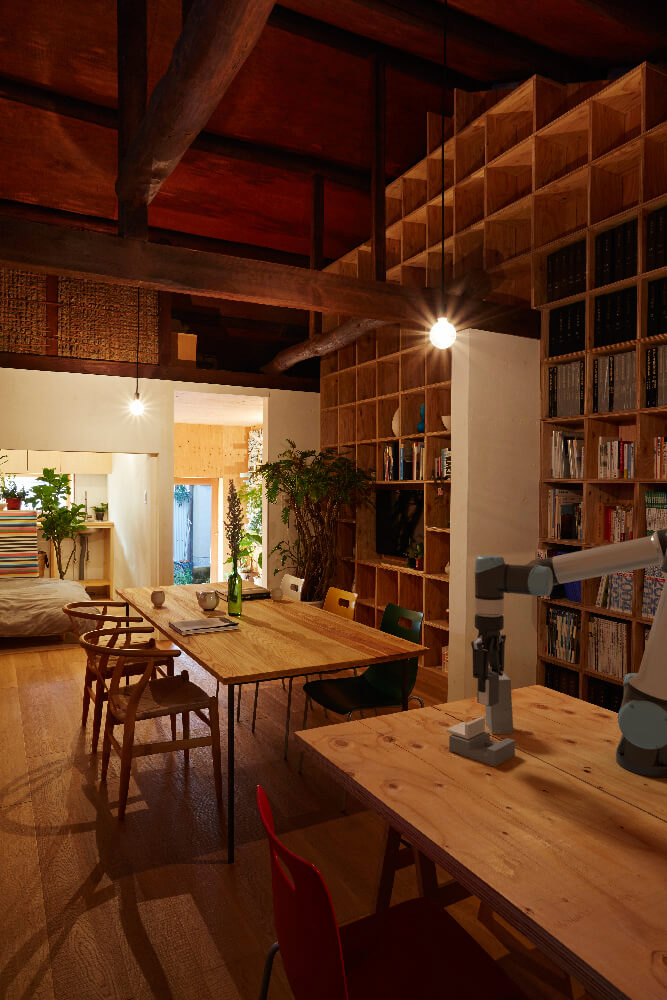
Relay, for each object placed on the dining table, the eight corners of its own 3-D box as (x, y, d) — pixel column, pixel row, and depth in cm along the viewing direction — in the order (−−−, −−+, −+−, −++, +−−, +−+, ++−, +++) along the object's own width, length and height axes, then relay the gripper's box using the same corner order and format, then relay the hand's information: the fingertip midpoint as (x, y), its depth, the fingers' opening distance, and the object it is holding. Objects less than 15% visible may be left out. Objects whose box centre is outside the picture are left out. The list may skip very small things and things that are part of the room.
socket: (514, 755, 171) (515, 740, 171) (494, 766, 164) (494, 750, 164) (470, 740, 181) (470, 726, 181) (449, 750, 174) (449, 735, 174)
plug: (498, 702, 171) (499, 667, 171) (490, 706, 168) (491, 670, 168) (485, 699, 174) (486, 664, 174) (477, 702, 171) (477, 667, 171)
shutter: (484, 731, 177) (484, 717, 177) (468, 739, 171) (468, 725, 171) (463, 724, 182) (463, 711, 182) (446, 732, 176) (446, 718, 176)
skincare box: (513, 734, 185) (514, 680, 185) (489, 734, 186) (489, 680, 185) (506, 724, 194) (506, 671, 194) (482, 723, 194) (483, 671, 194)
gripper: (494, 607, 179) (493, 691, 180) (458, 616, 167) (458, 705, 168) (518, 611, 174) (517, 697, 174) (483, 620, 162) (483, 713, 162)
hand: (488, 701), depth 171 cm, fingers closed on plug, 4 cm apart
